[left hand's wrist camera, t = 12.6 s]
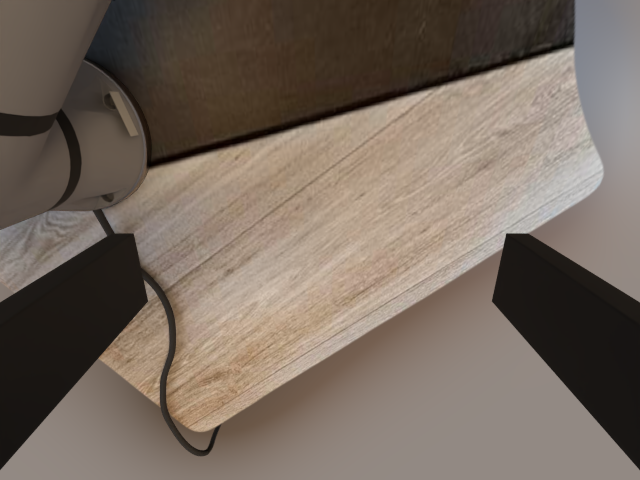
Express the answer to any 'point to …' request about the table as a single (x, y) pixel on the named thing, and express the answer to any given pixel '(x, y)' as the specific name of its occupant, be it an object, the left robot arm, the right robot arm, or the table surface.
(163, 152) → the table surface
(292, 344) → the table surface
